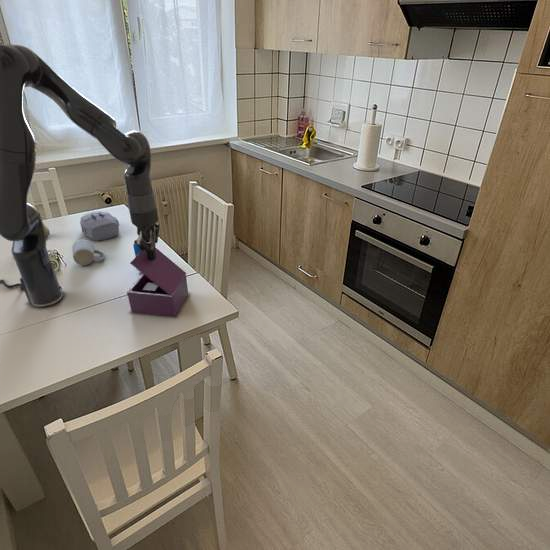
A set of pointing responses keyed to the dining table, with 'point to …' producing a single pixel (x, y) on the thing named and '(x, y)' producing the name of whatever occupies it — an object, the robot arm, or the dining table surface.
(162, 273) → the lid
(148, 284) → the block
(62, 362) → the dining table surface
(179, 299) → the file box
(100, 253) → the ceramic mug
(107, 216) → the grey rounded bag
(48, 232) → the fennel bulb
